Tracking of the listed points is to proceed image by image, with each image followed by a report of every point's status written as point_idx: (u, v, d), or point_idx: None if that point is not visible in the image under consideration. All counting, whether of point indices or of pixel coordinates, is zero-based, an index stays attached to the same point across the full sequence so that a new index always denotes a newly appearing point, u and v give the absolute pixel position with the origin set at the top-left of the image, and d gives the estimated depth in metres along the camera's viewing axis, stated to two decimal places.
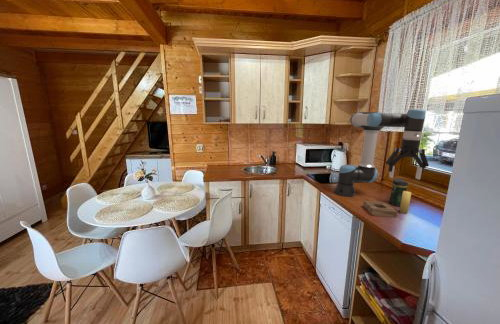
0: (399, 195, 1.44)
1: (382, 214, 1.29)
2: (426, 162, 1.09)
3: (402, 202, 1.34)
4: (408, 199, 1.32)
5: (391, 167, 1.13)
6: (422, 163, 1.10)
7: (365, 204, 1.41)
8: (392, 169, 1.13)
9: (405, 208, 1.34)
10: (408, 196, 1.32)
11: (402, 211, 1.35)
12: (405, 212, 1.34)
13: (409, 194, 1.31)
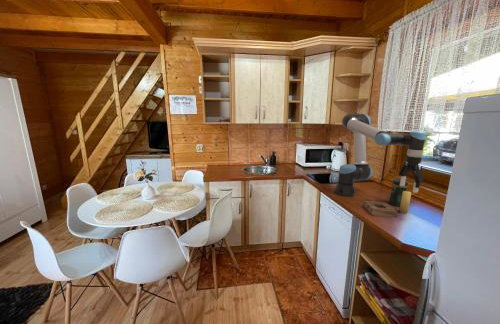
0: (399, 195, 1.44)
1: (382, 214, 1.29)
2: (417, 178, 1.22)
3: (402, 202, 1.34)
4: (408, 199, 1.32)
5: (401, 177, 1.39)
6: (415, 178, 1.24)
7: (365, 204, 1.41)
8: None
9: (405, 208, 1.34)
10: (408, 196, 1.32)
11: (402, 211, 1.35)
12: (405, 212, 1.34)
13: (409, 194, 1.31)
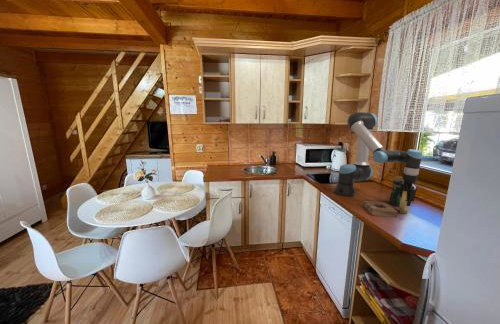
0: (399, 195, 1.44)
1: (382, 214, 1.29)
2: (409, 197, 1.29)
3: (402, 202, 1.34)
4: None
5: (401, 198, 1.38)
6: (407, 197, 1.31)
7: (365, 204, 1.41)
8: (400, 200, 1.38)
9: None
10: None
11: (402, 211, 1.35)
12: (405, 212, 1.34)
13: None
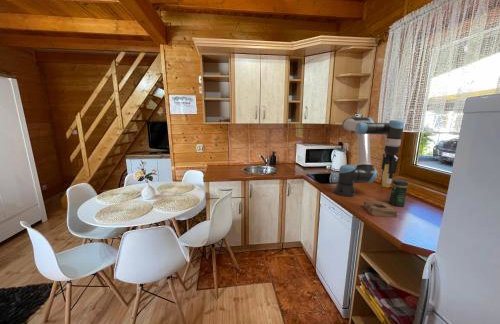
0: (399, 195, 1.44)
1: (382, 214, 1.29)
2: (391, 169, 1.25)
3: (384, 175, 1.31)
4: None
5: (383, 171, 1.34)
6: (389, 169, 1.27)
7: (365, 204, 1.41)
8: None
9: None
10: None
11: (384, 185, 1.31)
12: (387, 185, 1.31)
13: None
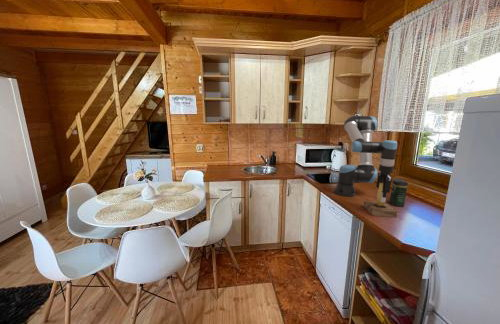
0: (399, 195, 1.44)
1: (382, 214, 1.29)
2: (385, 188, 1.28)
3: (378, 194, 1.33)
4: None
5: None
6: (383, 188, 1.30)
7: (365, 204, 1.41)
8: None
9: None
10: None
11: (379, 203, 1.34)
12: (381, 204, 1.33)
13: None
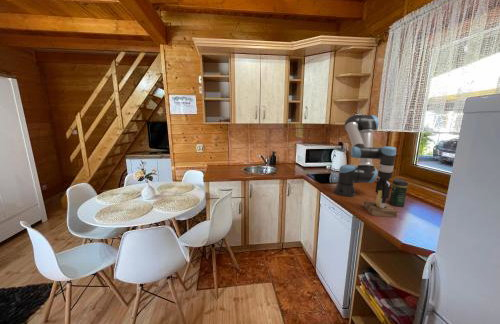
0: (399, 195, 1.44)
1: (382, 214, 1.29)
2: (384, 194, 1.28)
3: (377, 201, 1.34)
4: None
5: None
6: (382, 194, 1.30)
7: (365, 204, 1.41)
8: None
9: None
10: None
11: None
12: None
13: None
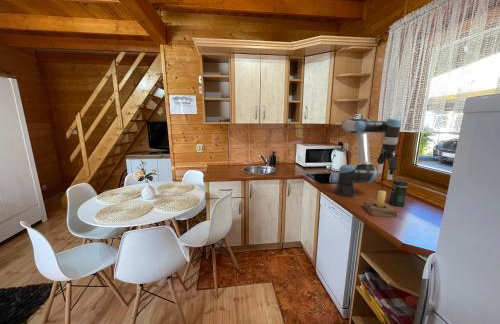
0: (399, 195, 1.44)
1: (382, 214, 1.29)
2: (391, 165, 1.24)
3: (377, 201, 1.34)
4: (383, 198, 1.32)
5: None
6: (389, 165, 1.26)
7: (365, 204, 1.41)
8: None
9: (380, 207, 1.34)
10: (383, 195, 1.32)
11: None
12: None
13: (384, 193, 1.31)
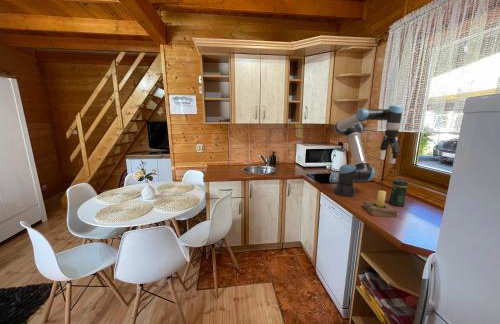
0: (399, 195, 1.44)
1: (382, 214, 1.29)
2: (394, 149, 1.30)
3: (377, 201, 1.34)
4: (383, 198, 1.32)
5: None
6: (392, 149, 1.32)
7: (365, 204, 1.41)
8: None
9: (380, 207, 1.34)
10: (383, 195, 1.32)
11: None
12: None
13: (384, 193, 1.31)
